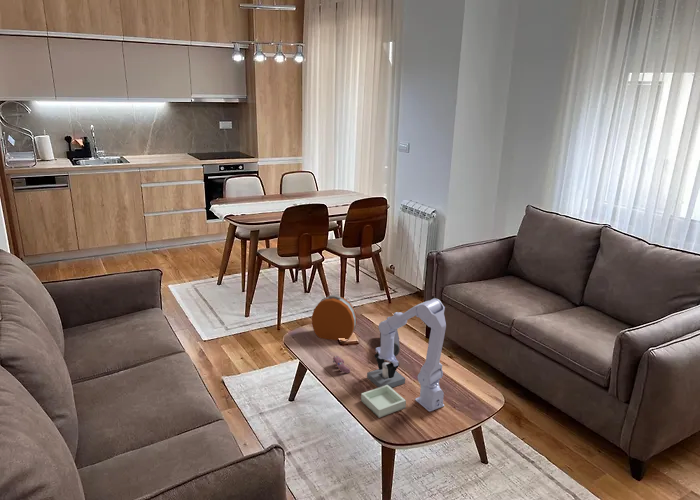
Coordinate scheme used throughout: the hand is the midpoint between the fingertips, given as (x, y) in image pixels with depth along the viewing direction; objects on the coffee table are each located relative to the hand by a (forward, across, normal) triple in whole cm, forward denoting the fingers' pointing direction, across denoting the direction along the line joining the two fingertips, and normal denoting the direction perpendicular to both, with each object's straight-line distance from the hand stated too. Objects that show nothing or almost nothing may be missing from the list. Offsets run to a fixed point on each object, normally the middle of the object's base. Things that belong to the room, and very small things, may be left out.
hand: (386, 373), depth 219 cm
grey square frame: (+4, 0, 0) cm, 4 cm away
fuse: (+4, 0, 0) cm, 4 cm away
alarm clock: (+4, -48, +1) cm, 48 cm away
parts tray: (+3, +14, -11) cm, 18 cm away
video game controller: (+4, -18, -12) cm, 22 cm away
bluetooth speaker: (+4, -23, +18) cm, 29 cm away
